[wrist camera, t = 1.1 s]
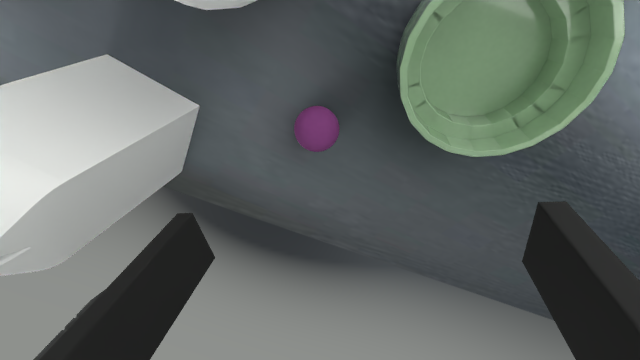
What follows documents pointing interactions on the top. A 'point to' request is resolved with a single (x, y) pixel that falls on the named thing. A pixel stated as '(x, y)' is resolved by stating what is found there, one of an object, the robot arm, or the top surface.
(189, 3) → the cup
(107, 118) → the milk
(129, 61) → the top surface
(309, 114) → the ball
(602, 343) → the robot arm
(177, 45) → the top surface
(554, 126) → the bowl
